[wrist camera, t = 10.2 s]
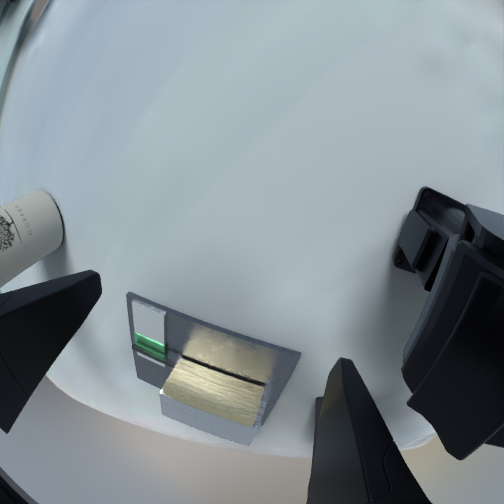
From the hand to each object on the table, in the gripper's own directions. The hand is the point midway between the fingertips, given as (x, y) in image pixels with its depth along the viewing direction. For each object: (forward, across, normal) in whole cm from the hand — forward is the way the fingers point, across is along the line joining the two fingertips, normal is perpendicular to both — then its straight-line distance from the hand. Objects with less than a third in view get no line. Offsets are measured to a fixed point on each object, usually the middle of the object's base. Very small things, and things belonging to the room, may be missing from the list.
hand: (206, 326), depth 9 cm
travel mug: (+13, +27, +8) cm, 31 cm away
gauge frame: (+13, +4, +21) cm, 25 cm away
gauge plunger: (+12, +4, +23) cm, 26 cm away
